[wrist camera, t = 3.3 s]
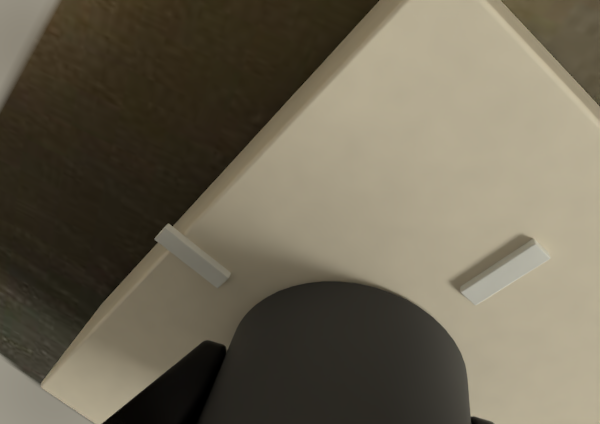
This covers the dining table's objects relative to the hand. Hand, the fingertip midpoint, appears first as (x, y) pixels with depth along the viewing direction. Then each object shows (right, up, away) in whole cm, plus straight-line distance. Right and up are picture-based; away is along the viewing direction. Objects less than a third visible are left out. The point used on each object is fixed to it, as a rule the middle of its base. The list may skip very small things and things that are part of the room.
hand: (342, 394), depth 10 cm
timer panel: (+1, +2, +3) cm, 4 cm away
